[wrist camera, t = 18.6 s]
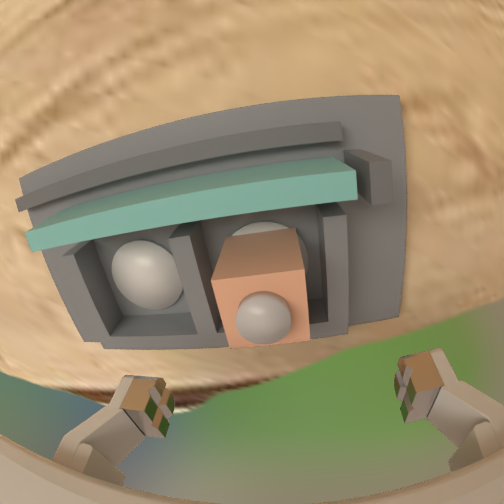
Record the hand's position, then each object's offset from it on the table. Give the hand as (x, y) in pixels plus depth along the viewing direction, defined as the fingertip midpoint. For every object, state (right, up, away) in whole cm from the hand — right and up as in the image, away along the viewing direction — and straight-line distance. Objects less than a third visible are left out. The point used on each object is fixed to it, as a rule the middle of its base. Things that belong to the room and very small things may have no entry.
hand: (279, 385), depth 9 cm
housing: (-4, +5, +10) cm, 12 cm away
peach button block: (0, +4, +9) cm, 9 cm away
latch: (-5, +8, +7) cm, 12 cm away
